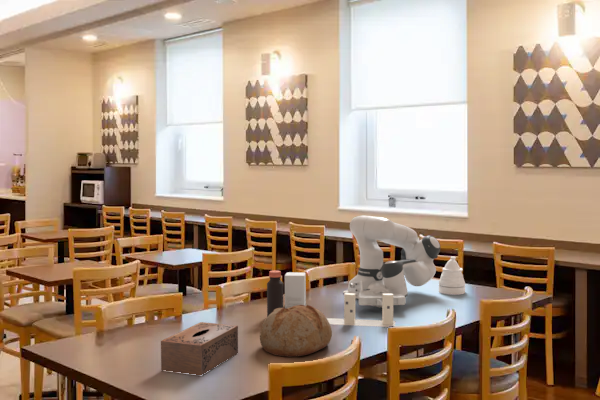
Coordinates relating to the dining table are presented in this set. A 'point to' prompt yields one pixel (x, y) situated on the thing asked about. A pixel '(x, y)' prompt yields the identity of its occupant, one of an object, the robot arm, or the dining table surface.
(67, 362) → the dining table surface
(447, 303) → the dining table surface
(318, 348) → the bread
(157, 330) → the dining table surface
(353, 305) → the tile two
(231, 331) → the tissue box cover
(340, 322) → the felt strip
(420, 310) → the dining table surface
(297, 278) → the supplement box
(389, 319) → the tile one
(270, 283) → the bottle
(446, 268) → the honey pot
